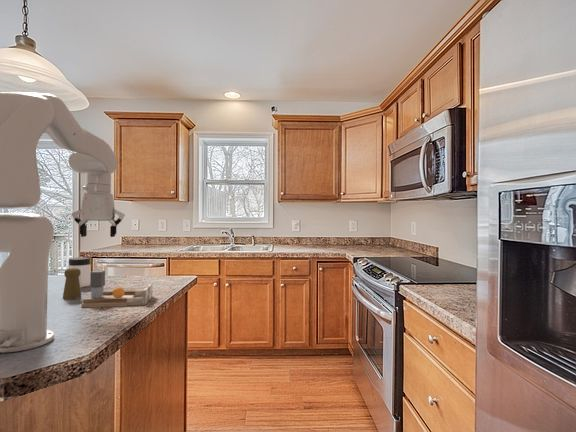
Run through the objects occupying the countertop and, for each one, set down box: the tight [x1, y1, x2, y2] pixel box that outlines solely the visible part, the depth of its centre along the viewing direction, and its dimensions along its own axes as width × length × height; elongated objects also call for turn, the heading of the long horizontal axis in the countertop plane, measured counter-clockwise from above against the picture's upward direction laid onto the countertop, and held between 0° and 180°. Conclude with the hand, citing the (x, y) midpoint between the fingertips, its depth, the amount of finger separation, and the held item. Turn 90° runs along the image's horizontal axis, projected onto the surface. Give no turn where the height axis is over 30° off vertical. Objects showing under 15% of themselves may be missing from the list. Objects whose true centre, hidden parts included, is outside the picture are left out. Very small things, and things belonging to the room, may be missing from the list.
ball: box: [112, 286, 126, 298], centre depth 122 cm, size 4×4×4 cm
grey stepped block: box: [89, 270, 106, 299], centre depth 120 cm, size 7×4×9 cm, turn 11°
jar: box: [67, 256, 92, 288], centre depth 146 cm, size 9×8×12 cm
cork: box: [62, 268, 82, 300], centre depth 126 cm, size 6×6×11 cm
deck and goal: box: [81, 283, 153, 308], centre depth 122 cm, size 14×20×5 cm
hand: (98, 236), depth 122 cm, fingers open, 9 cm apart
